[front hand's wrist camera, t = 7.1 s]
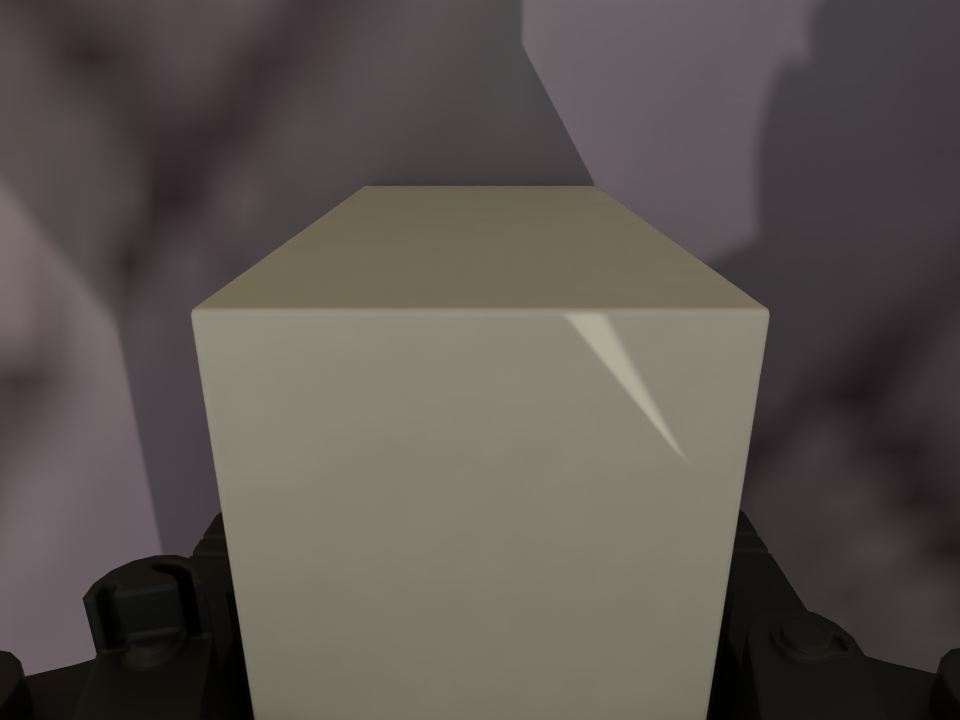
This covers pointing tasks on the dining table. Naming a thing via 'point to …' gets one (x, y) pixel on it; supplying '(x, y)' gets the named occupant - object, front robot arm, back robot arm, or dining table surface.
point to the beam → (480, 458)
